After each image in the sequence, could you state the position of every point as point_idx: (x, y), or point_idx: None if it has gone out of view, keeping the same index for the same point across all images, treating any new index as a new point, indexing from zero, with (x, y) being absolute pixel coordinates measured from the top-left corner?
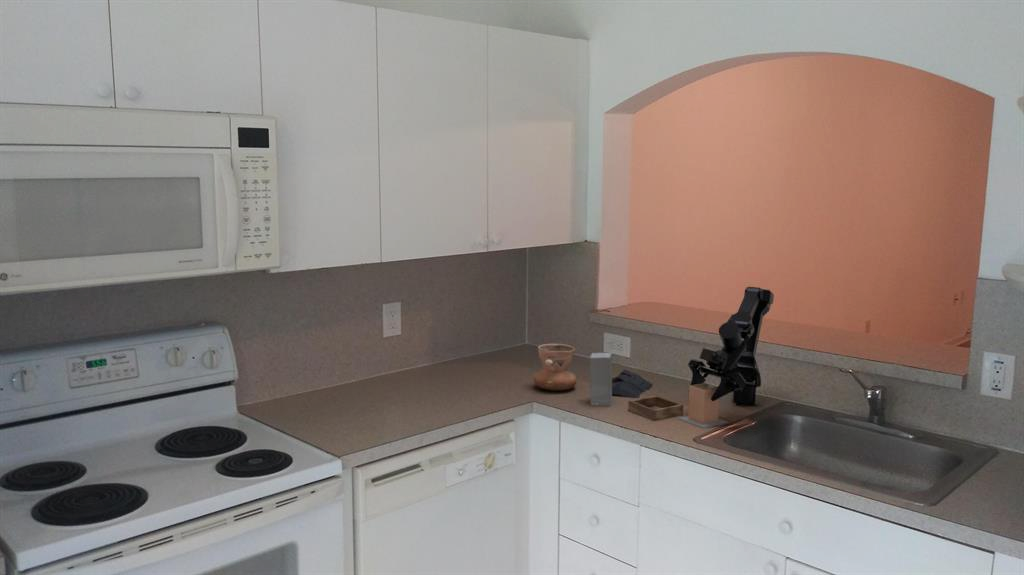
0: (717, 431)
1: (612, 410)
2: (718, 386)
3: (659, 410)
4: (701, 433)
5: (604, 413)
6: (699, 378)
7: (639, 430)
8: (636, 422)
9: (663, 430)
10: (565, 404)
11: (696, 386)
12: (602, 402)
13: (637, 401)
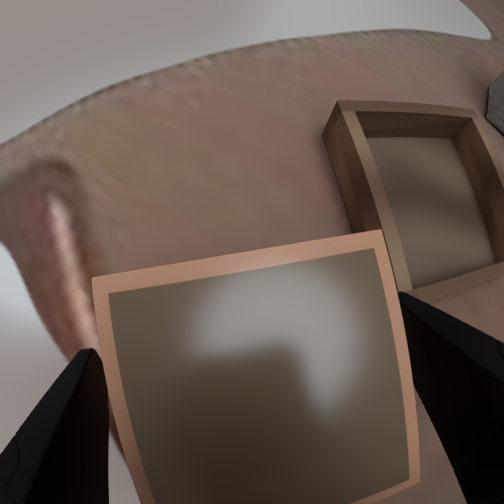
0: (92, 337)
1: (462, 106)
2: (31, 474)
3: (347, 130)
4: (100, 242)
5: (435, 71)
6: (499, 449)
7: (246, 51)
8: (336, 84)
9: (210, 112)
10: (491, 60)
11: (297, 277)
12: (493, 96)
13: (481, 145)
